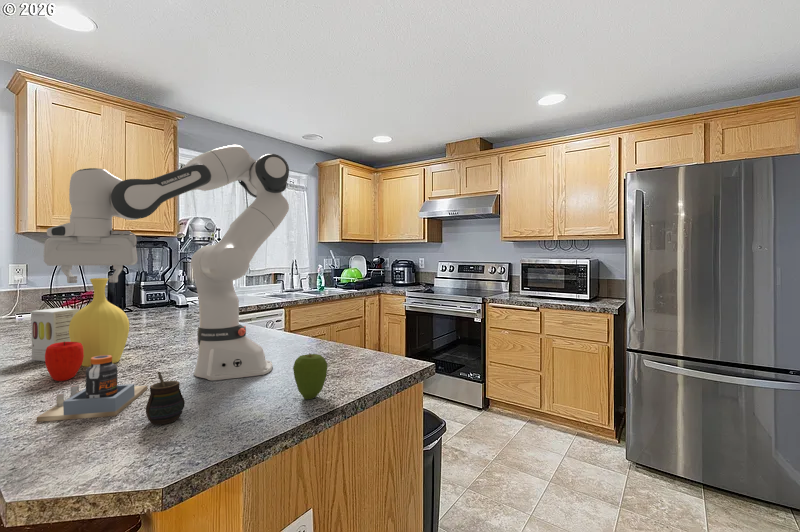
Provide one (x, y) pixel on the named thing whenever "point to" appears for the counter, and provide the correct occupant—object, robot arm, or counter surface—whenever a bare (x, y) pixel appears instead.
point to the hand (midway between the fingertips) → (93, 282)
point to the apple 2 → (310, 374)
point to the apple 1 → (64, 360)
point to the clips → (73, 391)
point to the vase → (100, 326)
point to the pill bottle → (101, 377)
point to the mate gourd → (164, 402)
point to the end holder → (98, 401)
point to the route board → (58, 413)
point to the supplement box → (49, 329)
